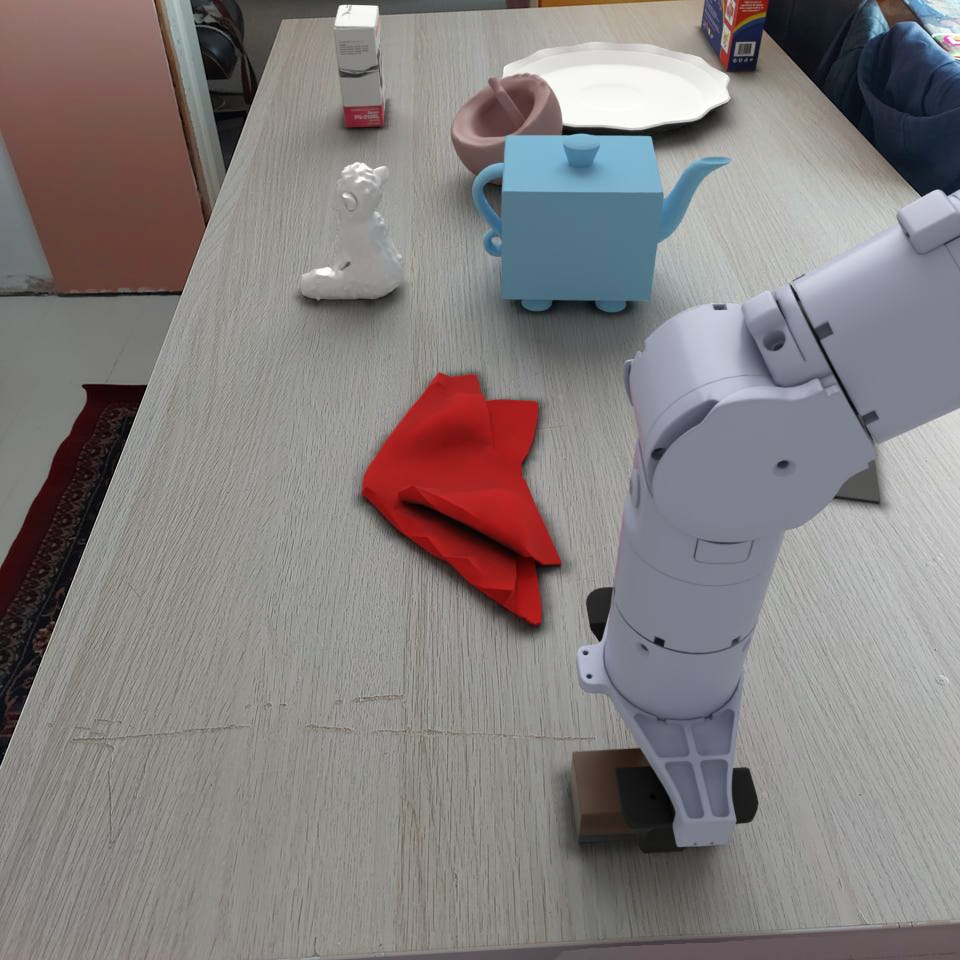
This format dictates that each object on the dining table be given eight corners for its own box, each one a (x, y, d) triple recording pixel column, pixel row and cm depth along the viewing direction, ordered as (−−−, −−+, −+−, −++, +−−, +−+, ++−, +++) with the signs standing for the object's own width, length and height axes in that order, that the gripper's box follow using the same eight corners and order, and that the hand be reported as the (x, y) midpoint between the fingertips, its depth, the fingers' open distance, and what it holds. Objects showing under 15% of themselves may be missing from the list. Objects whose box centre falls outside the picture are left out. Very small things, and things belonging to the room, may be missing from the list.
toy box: (755, 70, 125) (773, -24, 117) (726, 71, 125) (742, -23, 117) (727, 27, 138) (741, -60, 130) (700, 28, 138) (713, -59, 130)
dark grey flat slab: (869, 430, 70) (869, 429, 69) (879, 503, 64) (880, 501, 64) (801, 422, 70) (802, 420, 70) (806, 493, 65) (806, 491, 65)
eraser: (698, 772, 49) (706, 743, 47) (713, 835, 47) (723, 807, 45) (569, 779, 49) (572, 750, 47) (577, 842, 47) (581, 815, 45)
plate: (451, 107, 117) (450, 88, 115) (585, 45, 133) (586, 28, 131) (644, 170, 103) (646, 149, 101) (769, 92, 119) (772, 73, 117)
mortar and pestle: (434, 170, 104) (429, 66, 96) (526, 148, 107) (528, 46, 100) (483, 214, 96) (481, 104, 88) (580, 189, 100) (587, 81, 92)
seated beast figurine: (353, 251, 91) (339, 132, 82) (428, 271, 88) (421, 149, 79) (297, 297, 85) (275, 173, 76) (375, 320, 82) (361, 194, 73)
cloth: (374, 378, 75) (372, 355, 74) (540, 374, 75) (541, 351, 74) (347, 632, 56) (343, 609, 55) (568, 627, 57) (570, 604, 55)
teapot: (470, 315, 82) (466, 167, 72) (476, 252, 90) (474, 112, 80) (717, 318, 81) (746, 169, 71) (701, 254, 89) (725, 113, 80)
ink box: (384, 127, 113) (375, 25, 104) (344, 128, 113) (332, 26, 104) (387, 100, 119) (378, 2, 111) (349, 101, 119) (337, 3, 111)
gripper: (563, 473, 41) (551, 652, 50) (613, 768, 31) (586, 925, 40) (718, 467, 41) (677, 646, 51) (821, 757, 31) (745, 916, 40)
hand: (646, 769), depth 45 cm, fingers open, 7 cm apart
